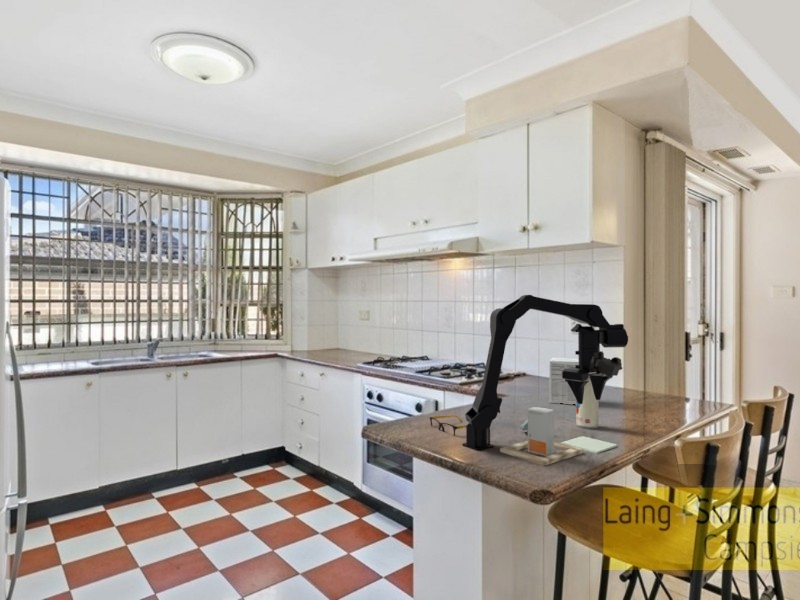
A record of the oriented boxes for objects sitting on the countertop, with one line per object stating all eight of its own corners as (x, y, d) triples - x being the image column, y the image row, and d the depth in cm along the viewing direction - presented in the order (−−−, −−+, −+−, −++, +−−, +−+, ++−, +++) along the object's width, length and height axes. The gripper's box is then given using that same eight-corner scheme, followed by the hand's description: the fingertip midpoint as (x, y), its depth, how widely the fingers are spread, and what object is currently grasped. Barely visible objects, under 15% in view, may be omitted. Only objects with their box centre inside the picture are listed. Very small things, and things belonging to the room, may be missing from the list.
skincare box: (527, 452, 130) (527, 408, 130) (534, 449, 133) (534, 406, 134) (547, 457, 126) (547, 412, 126) (555, 453, 129) (555, 409, 129)
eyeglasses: (427, 428, 157) (427, 416, 157) (462, 423, 164) (462, 411, 164) (453, 439, 144) (453, 426, 144) (489, 433, 151) (489, 420, 151)
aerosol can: (576, 423, 162) (576, 364, 163) (598, 425, 160) (598, 365, 160) (576, 427, 156) (576, 367, 156) (598, 430, 154) (598, 368, 154)
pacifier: (536, 427, 153) (542, 415, 149) (545, 443, 148) (551, 432, 145) (516, 429, 151) (521, 417, 147) (523, 446, 146) (530, 434, 143)
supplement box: (583, 405, 190) (583, 362, 191) (549, 403, 195) (549, 360, 196) (583, 399, 203) (583, 358, 203) (551, 397, 208) (551, 357, 208)
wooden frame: (543, 466, 119) (543, 461, 119) (500, 452, 130) (500, 448, 130) (582, 453, 130) (582, 448, 130) (539, 441, 141) (539, 437, 141)
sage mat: (596, 453, 129) (596, 451, 129) (561, 444, 138) (561, 442, 138) (617, 446, 136) (617, 444, 136) (582, 437, 145) (582, 436, 145)
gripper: (597, 352, 125) (598, 411, 125) (632, 347, 136) (633, 402, 136) (560, 348, 134) (560, 404, 134) (596, 345, 145) (596, 396, 145)
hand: (589, 401), depth 137 cm, fingers open, 9 cm apart
